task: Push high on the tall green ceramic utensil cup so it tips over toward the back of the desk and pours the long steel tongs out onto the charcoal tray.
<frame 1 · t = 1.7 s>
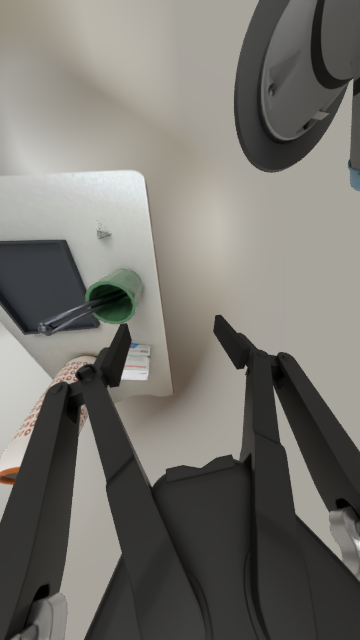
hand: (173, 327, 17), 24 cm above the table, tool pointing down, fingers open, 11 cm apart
cup: (126, 284, 37), on the table, touching tongs
tetrahedral die: (104, 231, 30), on the table
tray: (45, 291, 34), on the table
ink box: (138, 348, 49), on the table
vase: (90, 363, 49), on the table
tongs: (107, 299, 27), point 11 cm above the table, touching cup
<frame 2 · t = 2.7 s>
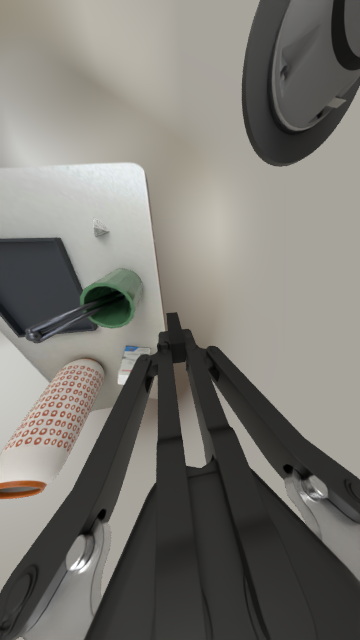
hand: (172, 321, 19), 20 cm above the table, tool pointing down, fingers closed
cup: (125, 285, 35), on the table, touching tongs
tetrahedral die: (102, 229, 28), on the table
tray: (40, 292, 33), on the table
ink box: (138, 351, 47), on the table
vase: (88, 366, 47), on the table
tongs: (104, 302, 25), point 11 cm above the table, touching cup
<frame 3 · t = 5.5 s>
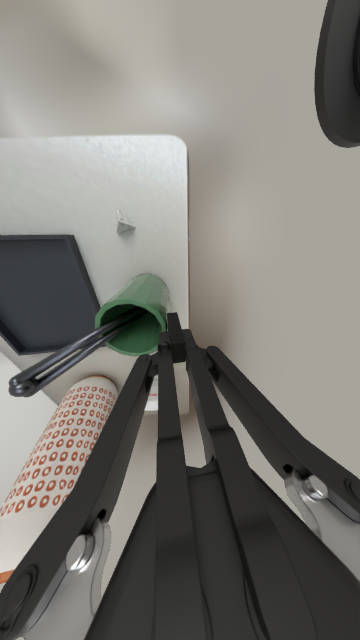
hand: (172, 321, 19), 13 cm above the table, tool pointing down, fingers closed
cup: (149, 294, 28), on the table, tilted 5°, touching gripper, tongs
tetrahedral die: (126, 224, 22), on the table
tray: (45, 302, 27), on the table
ink box: (156, 366, 41), on the table
vase: (98, 383, 41), on the table
tongs: (125, 320, 19), point 11 cm above the table, tilted 5°, touching cup
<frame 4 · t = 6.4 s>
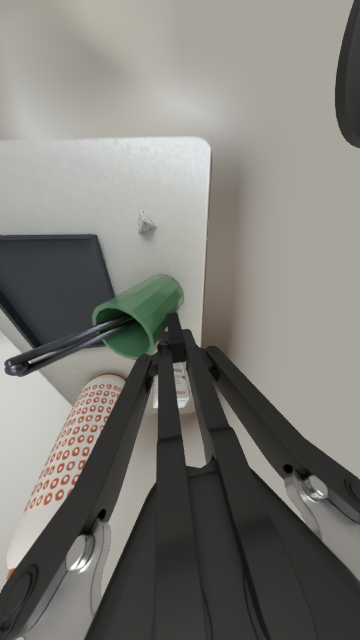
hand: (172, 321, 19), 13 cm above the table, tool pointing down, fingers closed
cup: (164, 295, 28), point 2 cm above the table, tilted 25°, touching tongs
tetrahedral die: (148, 224, 23), on the table
tray: (65, 301, 27), on the table
ink box: (167, 364, 42), on the table
vase: (111, 381, 42), on the table
tongs: (124, 321, 19), point 11 cm above the table, tilted 24°, touching cup
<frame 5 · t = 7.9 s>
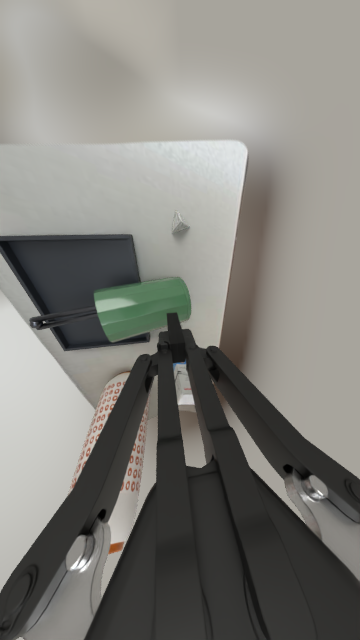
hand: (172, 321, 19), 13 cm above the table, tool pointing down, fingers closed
cup: (180, 299, 26), point 4 cm above the table, tilted 74°, touching tongs, tray
tetrahedral die: (181, 224, 23), on the table
tray: (95, 299, 28), on the table
ink box: (186, 362, 42), on the table
vase: (130, 379, 42), on the table
tongs: (108, 308, 24), point 5 cm above the table, tilted 49°, touching cup
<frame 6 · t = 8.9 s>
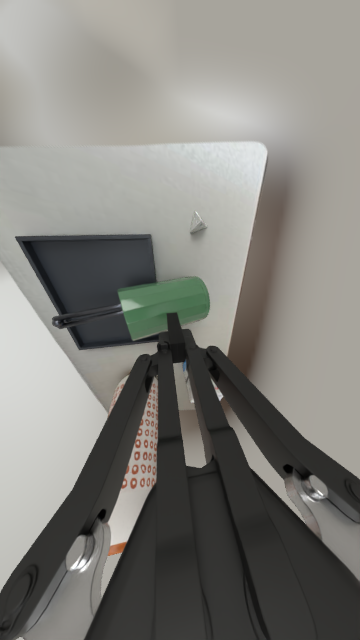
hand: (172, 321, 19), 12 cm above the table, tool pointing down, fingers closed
cup: (197, 298, 26), point 4 cm above the table, tilted 74°, touching tongs, tray
tetrahedral die: (199, 224, 24), on the table
tray: (111, 299, 28), on the table
ink box: (196, 361, 43), on the table
vase: (140, 378, 43), on the table
tongs: (127, 307, 25), point 5 cm above the table, tilted 49°, touching cup
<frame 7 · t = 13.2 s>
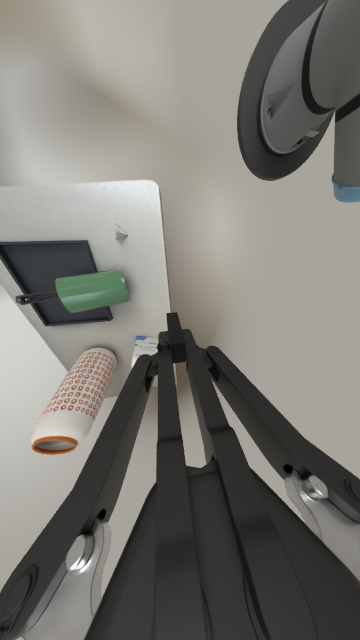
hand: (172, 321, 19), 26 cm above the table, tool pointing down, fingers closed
cup: (126, 286, 36), point 4 cm above the table, tilted 74°, touching tongs, tray
tetrahedral die: (122, 233, 34), on the table
tray: (66, 287, 38), on the table
ink box: (147, 340, 53), on the table
vase: (102, 354, 53), on the table
tongs: (72, 291, 35), point 5 cm above the table, tilted 49°, touching cup
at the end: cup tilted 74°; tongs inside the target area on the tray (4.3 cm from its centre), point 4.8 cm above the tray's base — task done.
